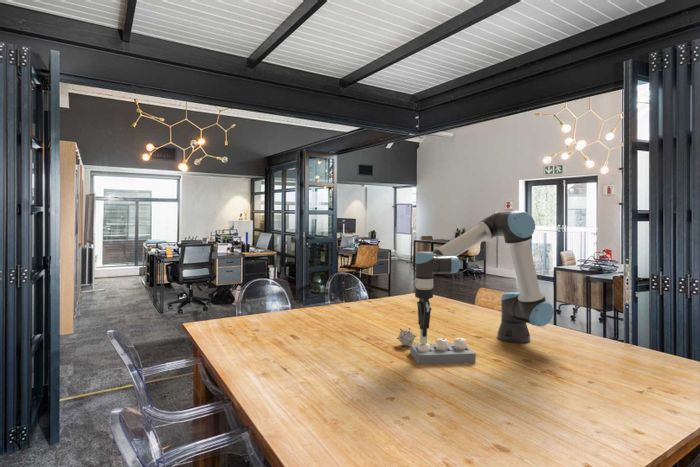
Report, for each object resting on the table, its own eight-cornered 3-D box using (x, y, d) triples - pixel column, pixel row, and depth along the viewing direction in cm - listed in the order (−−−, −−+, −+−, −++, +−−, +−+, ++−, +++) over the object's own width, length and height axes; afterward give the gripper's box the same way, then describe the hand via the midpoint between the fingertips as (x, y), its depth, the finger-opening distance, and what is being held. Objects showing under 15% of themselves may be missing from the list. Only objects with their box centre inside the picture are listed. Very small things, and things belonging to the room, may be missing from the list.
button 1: (463, 348, 175) (463, 337, 175) (467, 352, 170) (467, 340, 170) (452, 349, 175) (452, 337, 174) (456, 353, 170) (456, 341, 169)
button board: (462, 351, 180) (462, 342, 180) (475, 362, 166) (475, 353, 166) (410, 353, 177) (410, 344, 177) (418, 364, 163) (418, 355, 163)
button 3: (427, 353, 173) (427, 341, 173) (431, 357, 168) (431, 345, 168) (416, 354, 173) (416, 342, 173) (419, 358, 168) (419, 345, 168)
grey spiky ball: (409, 354, 187) (416, 341, 181) (392, 347, 188) (398, 333, 182) (414, 340, 194) (420, 327, 188) (397, 333, 195) (403, 320, 189)
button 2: (445, 349, 174) (445, 337, 174) (449, 353, 169) (449, 341, 169) (434, 349, 174) (434, 338, 174) (438, 353, 169) (438, 341, 169)
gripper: (411, 285, 176) (410, 339, 177) (419, 291, 163) (419, 348, 164) (428, 285, 177) (427, 338, 177) (437, 290, 164) (436, 347, 164)
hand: (423, 343), depth 170 cm, fingers closed
